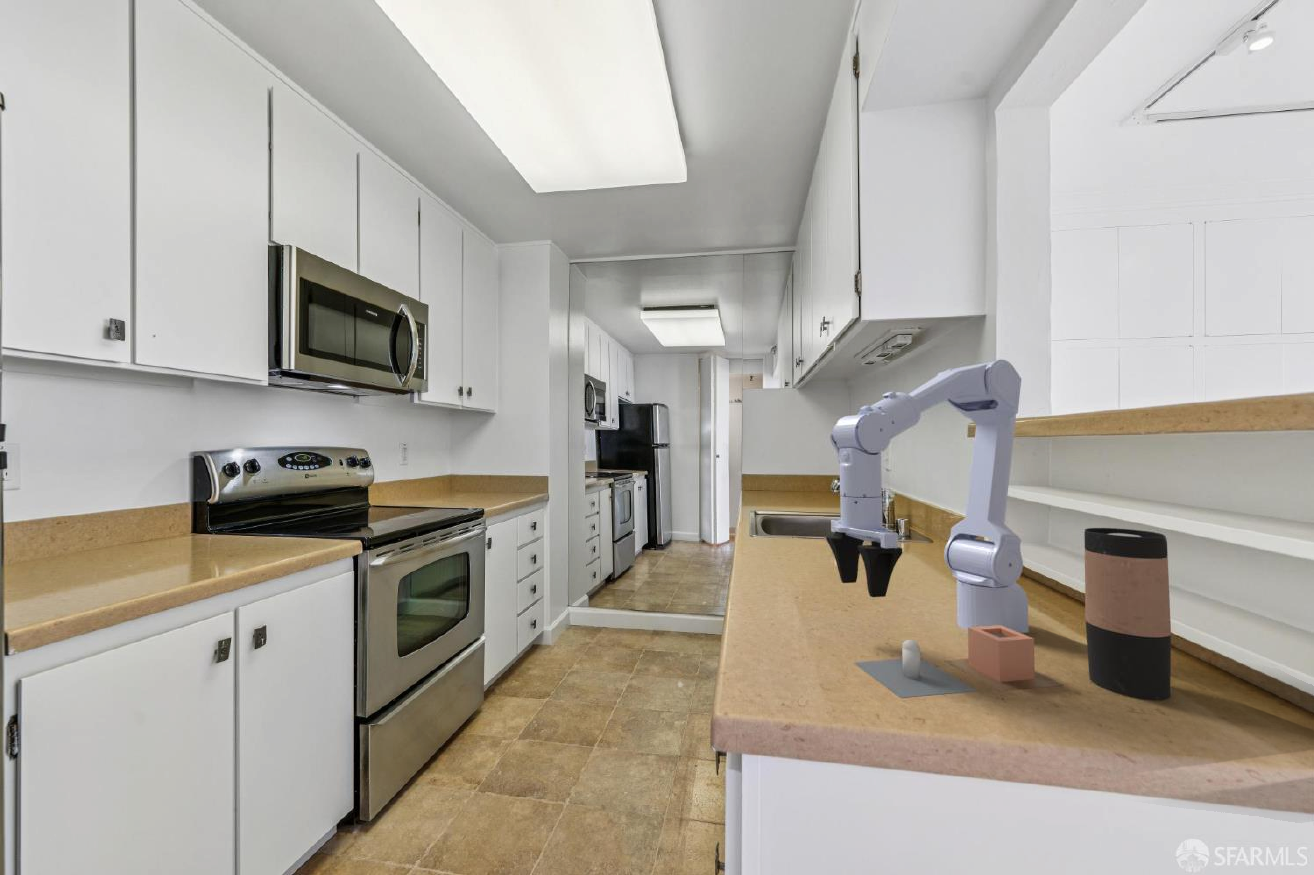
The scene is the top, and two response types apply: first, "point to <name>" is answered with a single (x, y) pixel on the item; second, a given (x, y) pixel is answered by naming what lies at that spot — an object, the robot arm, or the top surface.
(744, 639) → the top surface
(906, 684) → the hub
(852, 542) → the robot arm
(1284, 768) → the top surface
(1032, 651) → the collar
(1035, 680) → the stand
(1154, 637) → the travel mug
